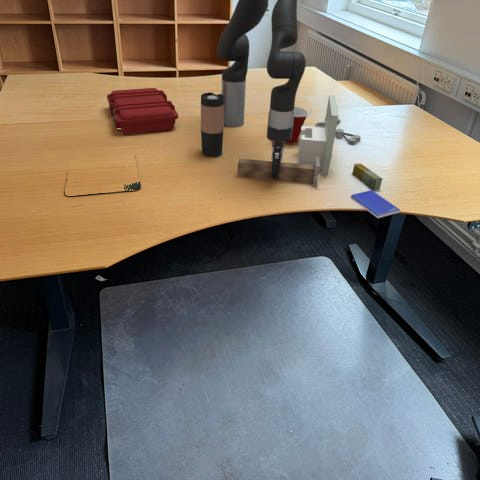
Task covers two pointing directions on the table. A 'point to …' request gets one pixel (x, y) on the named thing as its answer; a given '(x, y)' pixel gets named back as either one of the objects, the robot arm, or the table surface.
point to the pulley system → (342, 133)
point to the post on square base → (286, 172)
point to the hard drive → (375, 204)
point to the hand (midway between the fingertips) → (275, 174)
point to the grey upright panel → (319, 139)
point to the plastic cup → (298, 123)
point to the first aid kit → (141, 110)
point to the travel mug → (212, 124)
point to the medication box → (367, 177)
